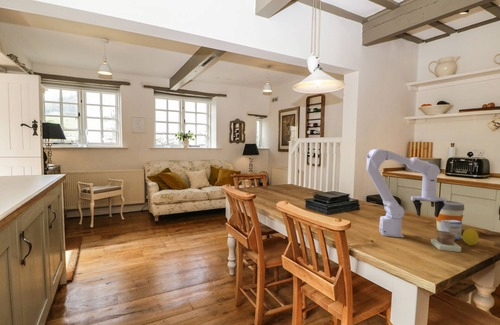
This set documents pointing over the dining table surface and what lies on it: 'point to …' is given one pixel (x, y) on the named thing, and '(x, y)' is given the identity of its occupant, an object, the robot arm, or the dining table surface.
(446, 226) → the medicine box
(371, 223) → the dining table surface
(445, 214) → the reusable coffee cup
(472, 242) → the lemon
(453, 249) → the base brick
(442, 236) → the walnut cube
